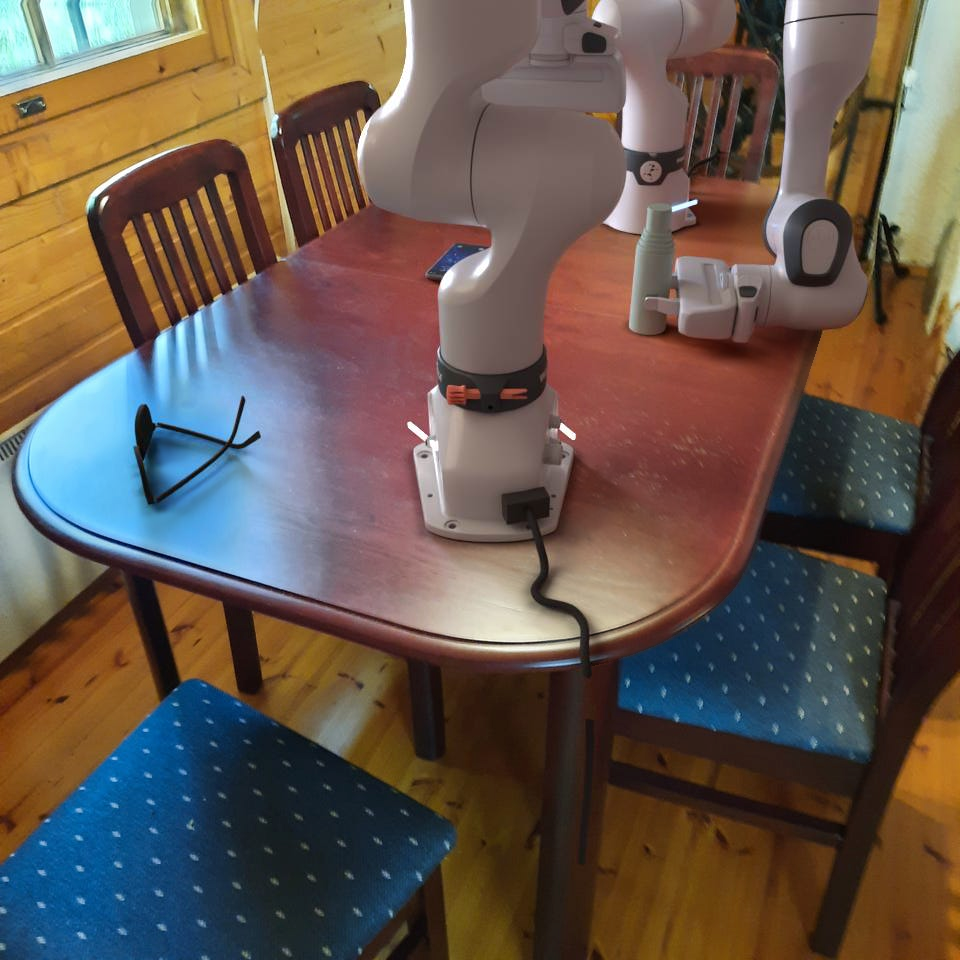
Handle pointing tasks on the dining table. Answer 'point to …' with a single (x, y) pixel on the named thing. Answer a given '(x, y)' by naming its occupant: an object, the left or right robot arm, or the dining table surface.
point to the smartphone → (452, 259)
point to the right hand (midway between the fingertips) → (644, 292)
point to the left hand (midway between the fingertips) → (549, 143)
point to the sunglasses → (147, 427)
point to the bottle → (652, 270)
